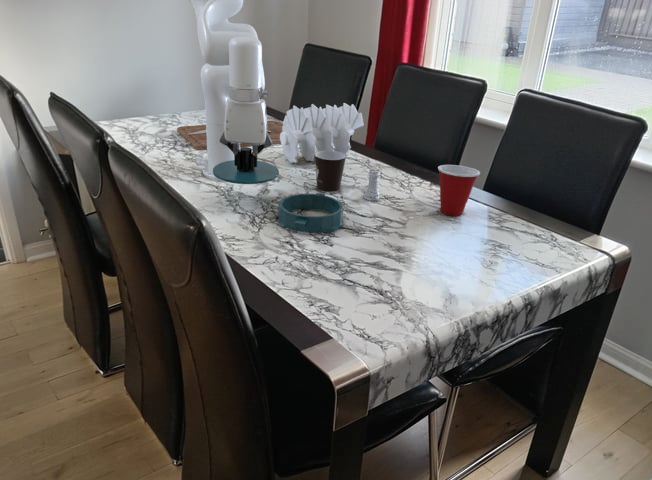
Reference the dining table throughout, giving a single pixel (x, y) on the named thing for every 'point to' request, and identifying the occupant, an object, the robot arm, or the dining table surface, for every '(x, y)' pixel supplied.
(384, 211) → the dining table surface
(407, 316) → the dining table surface
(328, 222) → the pot
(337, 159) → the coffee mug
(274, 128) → the chopping board
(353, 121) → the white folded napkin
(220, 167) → the lid
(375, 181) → the rook chess piece
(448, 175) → the plastic cup
